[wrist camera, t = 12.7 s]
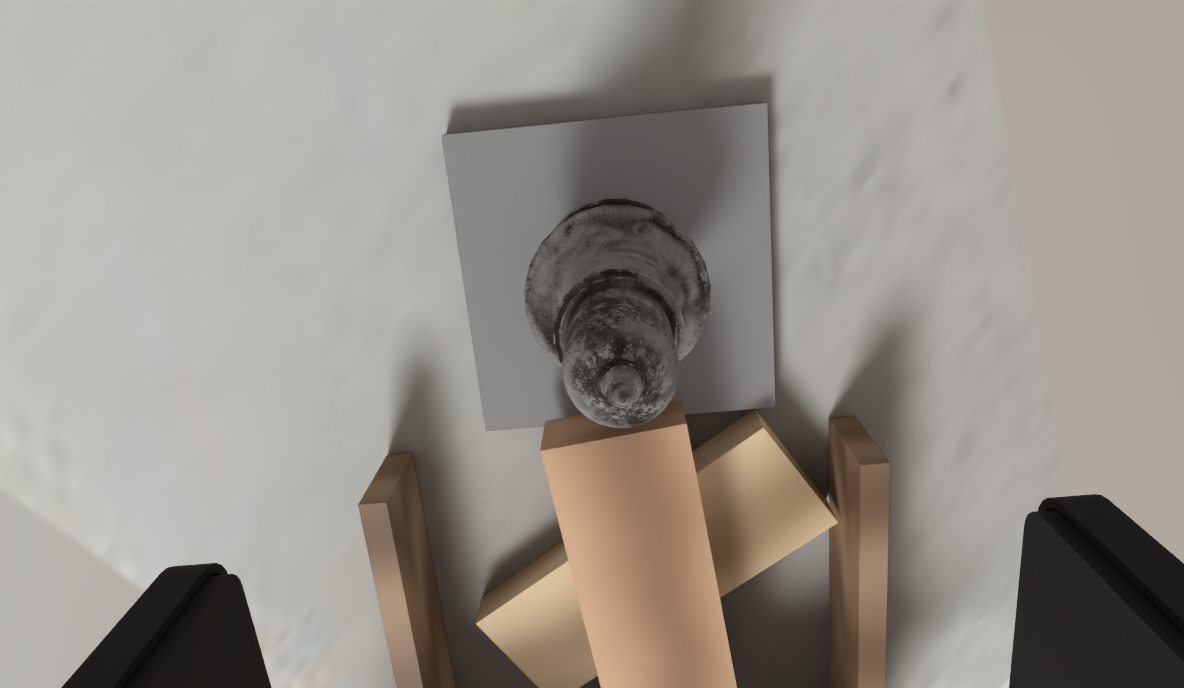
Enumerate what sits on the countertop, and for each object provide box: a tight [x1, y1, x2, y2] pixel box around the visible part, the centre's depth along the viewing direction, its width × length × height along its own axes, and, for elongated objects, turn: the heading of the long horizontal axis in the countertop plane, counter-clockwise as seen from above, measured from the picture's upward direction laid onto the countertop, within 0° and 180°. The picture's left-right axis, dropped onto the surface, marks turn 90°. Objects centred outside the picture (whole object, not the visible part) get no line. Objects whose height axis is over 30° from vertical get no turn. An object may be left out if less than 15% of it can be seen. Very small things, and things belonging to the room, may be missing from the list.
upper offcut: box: [540, 396, 737, 688], centre depth 30 cm, size 5×14×2 cm, turn 12°
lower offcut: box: [476, 409, 838, 688], centre depth 32 cm, size 5×14×2 cm, turn 128°
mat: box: [442, 102, 775, 431], centre depth 29 cm, size 11×11×1 cm
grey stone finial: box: [524, 199, 711, 428], centre depth 23 cm, size 6×6×12 cm
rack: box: [358, 416, 890, 688], centre depth 30 cm, size 16×18×7 cm
